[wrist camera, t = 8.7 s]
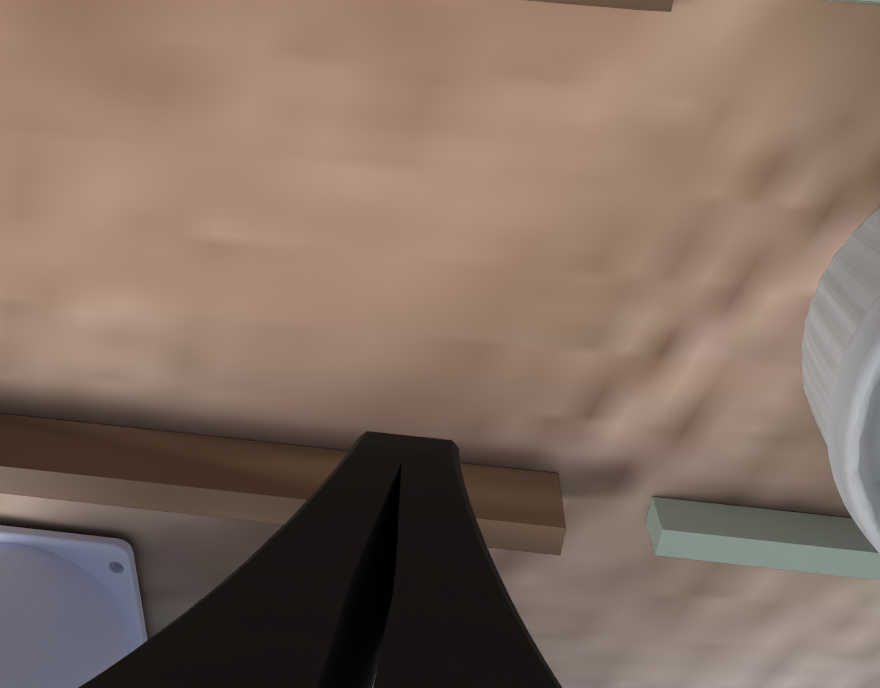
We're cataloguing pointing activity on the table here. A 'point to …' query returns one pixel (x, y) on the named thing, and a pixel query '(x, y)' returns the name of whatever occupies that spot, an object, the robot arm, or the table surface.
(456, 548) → the robot arm
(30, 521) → the table surface
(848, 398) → the ramekin
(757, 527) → the sage bay
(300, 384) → the table surface
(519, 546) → the brown wooden flat frame
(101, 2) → the table surface
